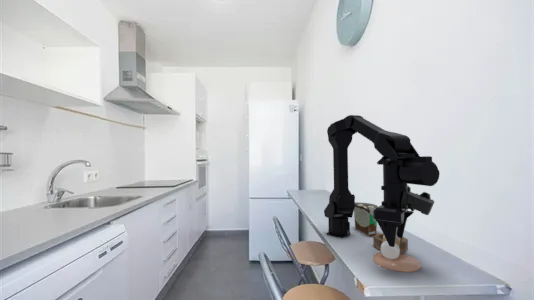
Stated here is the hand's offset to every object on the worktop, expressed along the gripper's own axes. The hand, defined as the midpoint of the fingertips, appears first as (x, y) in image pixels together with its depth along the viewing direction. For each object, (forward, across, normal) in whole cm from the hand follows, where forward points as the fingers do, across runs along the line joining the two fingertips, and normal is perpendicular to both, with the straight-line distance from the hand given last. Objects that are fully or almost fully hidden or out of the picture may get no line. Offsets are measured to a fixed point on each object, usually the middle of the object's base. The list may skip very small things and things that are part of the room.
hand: (396, 241), depth 67 cm
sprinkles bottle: (-1, +12, +4) cm, 12 cm away
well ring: (+6, +11, +4) cm, 13 cm away
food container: (+6, +23, +14) cm, 28 cm away
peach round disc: (+6, 0, 0) cm, 6 cm away
